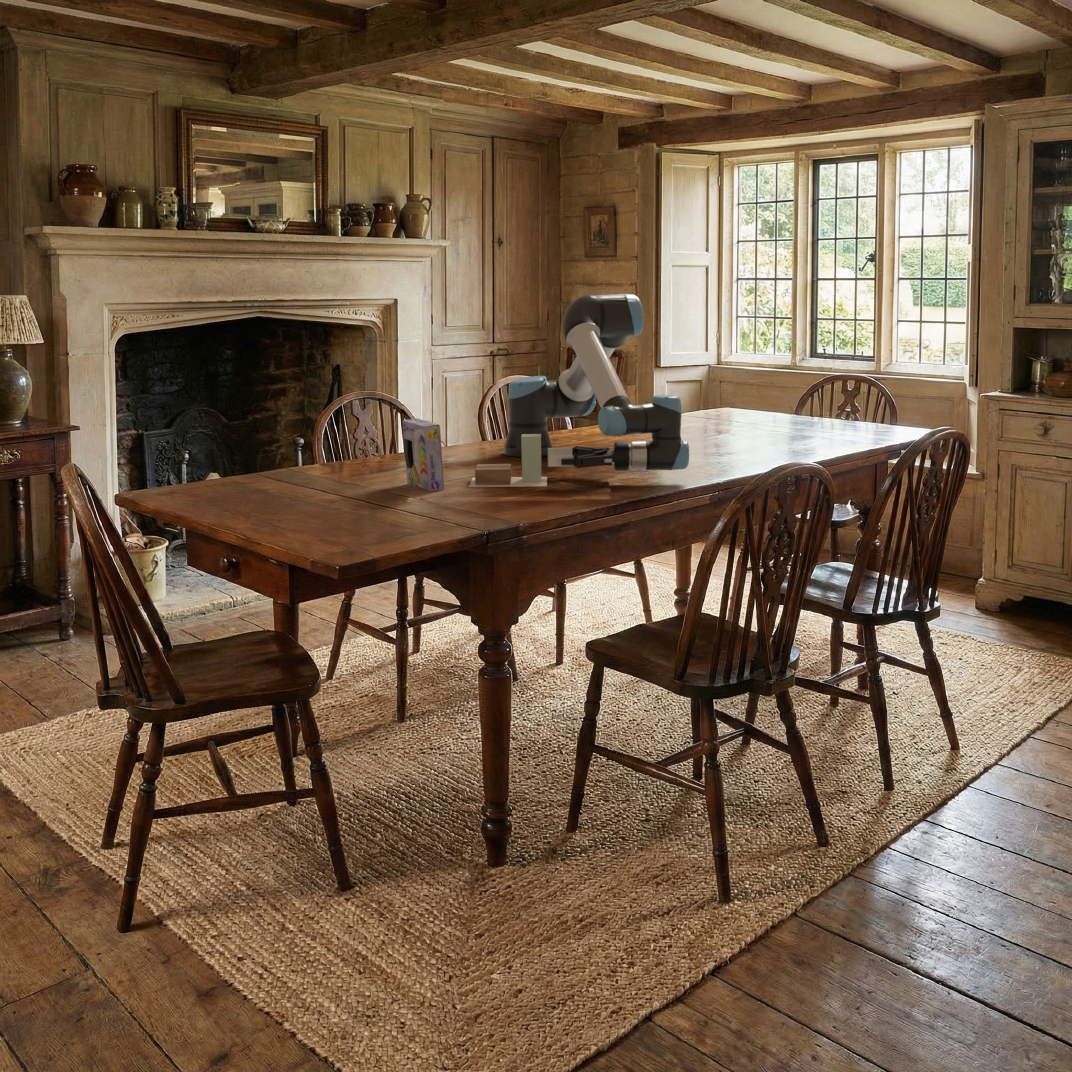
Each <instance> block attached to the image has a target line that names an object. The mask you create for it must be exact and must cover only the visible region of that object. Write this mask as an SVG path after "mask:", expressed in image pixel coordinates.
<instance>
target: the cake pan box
mask: <svg viewBox="0 0 1072 1072" xmlns="http://www.w3.org/2000/svg"><path fill="white" fill-rule="evenodd" d="M402 432H403V441H404V442H403V451H404V459H405V469H406V472H405V473H406V485H408V484H409V485H408V486H410V485H411V486H410V487H412V486H413V488H416V486H417V487H420V488H421V489H423V490H425V491H427V492H438V491H445V479H444V478H445V477H444V466H443V465H444V464H443V463H444V462H443V449H442V436H441V425H440V424H437V423H435V422H432V421H429V420H426V419H421V418H418V417H416V418H409V419H404V420H402Z"/></svg>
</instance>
